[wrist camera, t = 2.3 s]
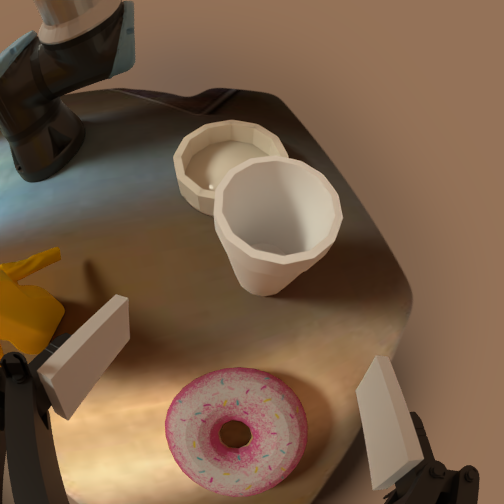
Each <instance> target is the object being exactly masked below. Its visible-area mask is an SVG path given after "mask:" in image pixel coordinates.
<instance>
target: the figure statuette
mask: <svg viewBox="0 0 504 504" xmlns="http://www.w3.org/2000/svg"><path fill="white" fill-rule="evenodd" d="M59 260H61V256H60V249H59V248H58V247H55V248H52V249H49V250H46V251H44V252H41V253H38V254H35V255H33V256H31V257H29V258H28V259H25V260H20V261H18V262H11V263H3V264H1V265H0V340H7V341H10V342H11V343H12V344H13V345H14V346H15V347H16V348H17V349H18V350H20V351H21V352H23V353H26V354H40V353H41V352H42V351H43V350H44V349H45V348H46V347H47V346H48V344H49V342H50V340H51V338H52V336H53V334H54V332H55V330H56V328H57V326H58V325H59V323H60V321H61V319H62V317H63V315H64V313H65V309H64V307H63V305H62V304H61V303H60V302H59V301H58V300H57V299H55V298H54V297H53V296H52V295H51V294H50V293H49V292H47V291H46V290H45V289H43V288H41V287H38V286H34V285H18V282H17V281H18V280H20V279H23V278H25V277H27V276H29V275H30V274H32V273H34V272H36V271H38V270H40V269H42V268H44V267H46V266H48V265H50V264H52V263H55V262H57V261H59ZM3 356H4V354H3V351H2V348H1V345H0V360H1V358H2V357H3ZM0 367H1V366H0Z"/></svg>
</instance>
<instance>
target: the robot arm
mask: <svg viewBox="0 0 504 504" xmlns="http://www.w3.org/2000/svg"><path fill="white" fill-rule="evenodd" d="M33 1H34V3H35V5H36V7H37V9H38V12H39V14H40V16H41V18H42V20H43V23H42V26H41V27H40V30H39V34H38V37H37V33H36V32H35V31H33V30H32V31H30V32H28V33H26V34H25V35H23V36H22V37H21V38H19V39H17V40H16V41H15V42H13V43H12V44H11V45H10V46H9V47H7V48H6V49H5V50H4V51H3V52H1V53H0V130H1V132H2V133H3V135H4V136H5V138H6V139H7V141H8V142H9V145H10V149H11V153H12V157H13V161H14V164H15V168H16V170H17V172H18V173H19V175H20V176H21V177H22V178H23V179H24V180H25V181H28V182H36V181H40V180H42V179H45V178H47V177H49V176H50V175H52V174H54V173H55V172H57V171H58V170H59V169H61V168H62V167H63V166H64V165H65V164H66V163H67V162H68V161H69V160H70V159H71V158H72V157H73V156H74V155H75V154H76V152H77V151H78V149H79V148H80V146H81V144H82V142H83V140H84V137H85V129H84V126H83V124H82V122H81V120H80V119H79V117H78V116H77V115H76V114H74V113H73V112H72V111H71V110H70V109H69V108H68V107H67V106H66V105H65V104H64V103H63V102H62V101H61V99H60V96H62V95H65V94H67V93H70V92H72V91H74V90H77V89H80V88H82V87H85V86H88V85H91V84H93V83H96V82H99V81H102V80H105V79H110V78H112V77H113V76H115V75H118V74H120V73H123V72H126V71H128V70H129V69H131V68H132V67H133V65H134V63H135V38H134V3H133V1H124V2H122V0H33ZM129 339H130V330H129V305H128V298H126V297H123V296H120V295H117V294H116V295H115V296H114V297H113V298H112V299H110V300H109V301H108V302H107V303H106V304H105V305H104V306H103V307H102V308H101V309H99V310H98V311H97V312H96V313H95V314H94V315H93V316H92V317H91V318H90V319H89V320H88V321H87V322H86V323H84V324H83V325H82V326H81V327H80V328H79V329H78V330H77V331H76V332H75V333H74V334H73V335H70V334H68V333H64V334H62V335H60V336H58V337H56V338H55V339H54V340H53V341H52V342H51V344H49V345H48V346H47V347H46V348H45V349H44V350H43V351H42V352H41V353H40V354H39V355H37V356H36V357H35V358H34V359H33V360H32V361H31V362H30V363H29V364H27V361H26V358H25V357H24V356H23V354H21V353H19V352H10V353H7V354H5V355H4V356H3V357H2V358H1V360H0V366H1V367H0V504H2V490H3V474H4V464H5V456H6V451H7V460H8V469H9V476H10V481H11V487H12V493H13V498H14V502H15V504H69V501H68V498H67V495H66V492H65V488H64V485H63V481H62V477H61V474H60V470H59V465H58V461H57V456H56V452H55V446H54V441H53V435H52V429H51V422H50V414H49V411H48V409H49V408H50V407H51V405H52V407H53V409H54V411H55V413H57V414H58V415H60V416H61V417H63V418H65V419H66V420H69V419H70V418H71V416H72V415H73V413H74V412H75V411H76V409H77V408H78V407H79V405H80V404H81V402H82V401H83V400H84V398H85V397H86V396H87V394H88V393H89V392H90V390H91V389H92V388H93V386H94V385H95V384H96V382H97V381H98V380H99V378H100V377H101V376H102V374H103V373H104V372H105V370H106V369H107V368H108V366H109V365H110V364H111V363H112V361H113V360H114V359H115V357H116V356H117V355H118V353H119V352H120V351H121V350H122V348H123V347H124V346H125V345H126V343H127V342H128V341H129ZM355 391H356V395H357V400H358V405H359V410H360V415H361V420H362V425H363V431H364V436H365V441H366V448H367V454H368V460H369V466H370V472H371V480H372V487H373V490H379V489H388V488H389V487H390V486H391V485H393V484H394V483H395V486H396V489H394V490H393V491H392V492H390V493H389V494H388V495H386V496H385V497H384V498H383V499H385V498H387V497H388V499H387V500H386V502H385V503H384V504H477V501H478V490H479V473H478V471H477V469H476V468H475V467H473V466H471V465H467V466H465V467H463V468H462V469H461V470H460V471H453V470H447V469H446V467H445V465H444V464H442V463H441V462H439V461H435V459H434V456H433V453H432V450H431V447H430V444H429V441H428V438H427V436H426V432H425V430H424V426H423V423H422V421H421V419H420V417H419V416H418V415H417V414H416V413H415V412H409V410H408V407H407V405H406V402H405V399H404V396H403V394H402V391H401V388H400V386H399V383H398V380H397V378H396V375H395V373H394V370H393V367H392V365H391V362H390V360H389V358H388V356H380V355H376V356H375V358H374V360H373V361H372V363H371V365H370V367H369V368H368V370H367V372H366V374H365V375H364V377H363V379H362V381H361V382H360V384H359V386H358V387H357V389H356V390H355Z"/></svg>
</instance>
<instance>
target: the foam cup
mask: <svg viewBox="0 0 504 504" xmlns="http://www.w3.org/2000/svg"><path fill="white" fill-rule="evenodd" d="M342 219H343V216H342V211H341V206H340V201H339V196H338V194H337V192H336V191H335V189H334V188H333V187H332V185H331V184H330V183H329V181H328V180H327V179H326V177H325V176H324V175H323V174H322V173H320V172H318V171H317V170H315V169H314V168H312V167H310V166H309V165H307V164H306V163H304V162H302V161H299V160H295V159H291V158H286V157H281V156H277V155H274V156H265V157H257V158H250V159H248V160H247V161H245V162H243V163H241V164H239V165H237V166H235V167H234V168H232V169H230V170H229V171H228V172H227V174H226V175H225V176H224V178H223V179H222V181H221V182H220V184H219V185H218V186H217V188H216V189H215V201H214V222H215V230H216V232H217V234H218V236H219V239H220V241H221V243H222V245H223V247H224V249H225V251H226V253H227V255H228V257H229V260H230V262H231V265H232V267H233V270H234V273H235V275H236V277H237V279H238V281H239V283H240V285H241V286H242V287H243V288H244V289H246V290H247V291H248V292H250V293H251V294H255V295H259V296H269V295H273V294H277V293H278V292H279V291H281V290H282V289H283V288H284V287H286V286H287V285H288V284H289V283H290V282H292V281H293V280H294V279H295V278H296V277H297V276H298V275H300V274H301V273H302V272H304V271H307V270H308V269H309V268H310V267H311V266H313V265H314V264H315V263H316V262H317V261H319V260H320V259H321V258H322V257H323V256H325V255H326V253H327V252H328V250H329V249H330V247H331V246H332V244H333V243H334V241H335V239H336V236H337V233H338V231H339V228H340V225H341V222H342Z"/></svg>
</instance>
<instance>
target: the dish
mask: <svg viewBox="0 0 504 504" xmlns="http://www.w3.org/2000/svg"><path fill="white" fill-rule="evenodd" d="M274 155H277V156H281V157H286V158H288V154H287V152H286V150H285V148H284V147H283V145H282V143H281V141H280V139H279V137H278V136H276V135H274V134H273V133H271V132H270V131H268V130H266V129H265V128H263V127H261V126H260V125H258V124H254V123H249V122H243V121H237V120H226V121H220V122H215V123H210V124H205V125H203V126H201V127H200V128H198V129H197V130H195V131H193V132H192V133H190V134H189V135H187V136H185V137H184V138H183V140H182V142H181V143H180V145H179V147H178V149H177V151H176V152H175V154H174V156H173V159H174V165H175V170H176V175H177V180H178V184H179V188H180V192H181V195H183V197H184V198H185V199H186V201H187V202H188V203H189V204H190V205H191V206H192V207H193V208H195V209H196V210H197V211H199V212H201V213H203V214H205V215H208V216H211V217H214V201H215V189H216V188H217V186H218V185H219V184H220V182H221V181H222V179H223V178H224V176H225V175H226V174H227V172H228V171H229V170H230V169H232V168H234V167H235V166H237V165H239V164H241V163H243V162H245V161H247V160H248V159H250V158H257V157H265V156H274Z"/></svg>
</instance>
